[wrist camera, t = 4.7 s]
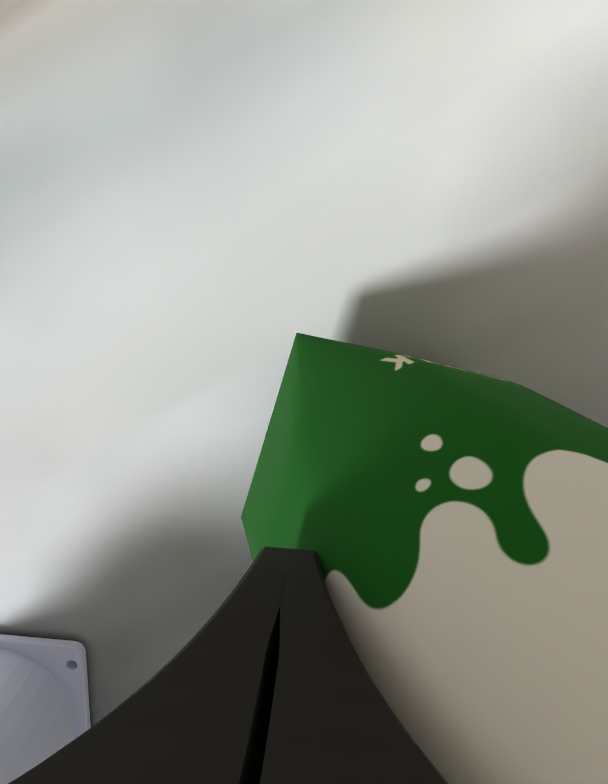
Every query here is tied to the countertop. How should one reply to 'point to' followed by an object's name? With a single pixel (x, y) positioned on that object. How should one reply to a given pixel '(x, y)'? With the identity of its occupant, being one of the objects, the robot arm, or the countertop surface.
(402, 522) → the soya milk
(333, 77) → the countertop surface
